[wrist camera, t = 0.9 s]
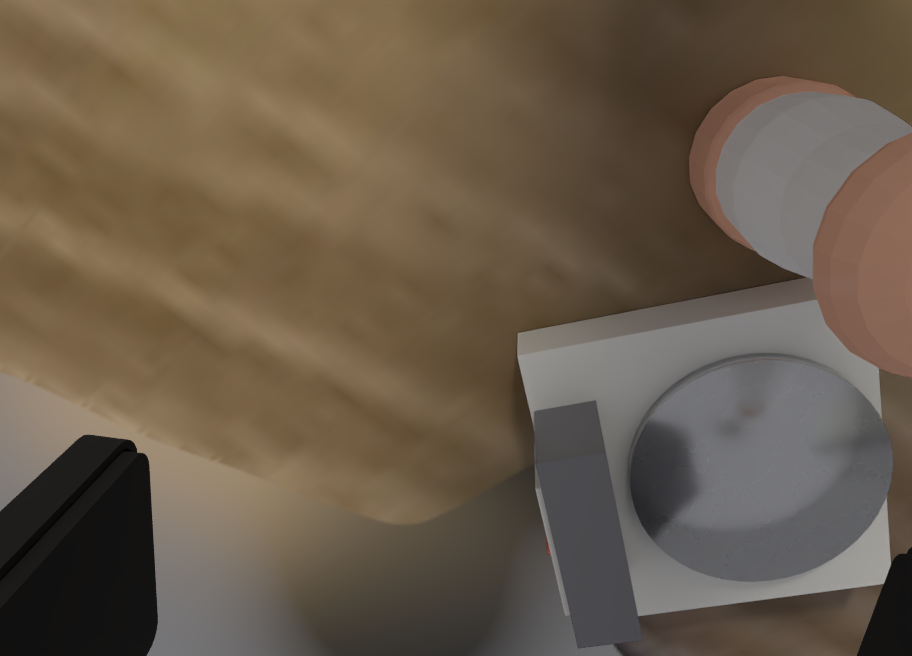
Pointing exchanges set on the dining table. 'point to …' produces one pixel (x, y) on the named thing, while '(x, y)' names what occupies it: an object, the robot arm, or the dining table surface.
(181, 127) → the dining table surface
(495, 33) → the dining table surface
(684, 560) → the scale pan
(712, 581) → the base
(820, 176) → the salt shaker
